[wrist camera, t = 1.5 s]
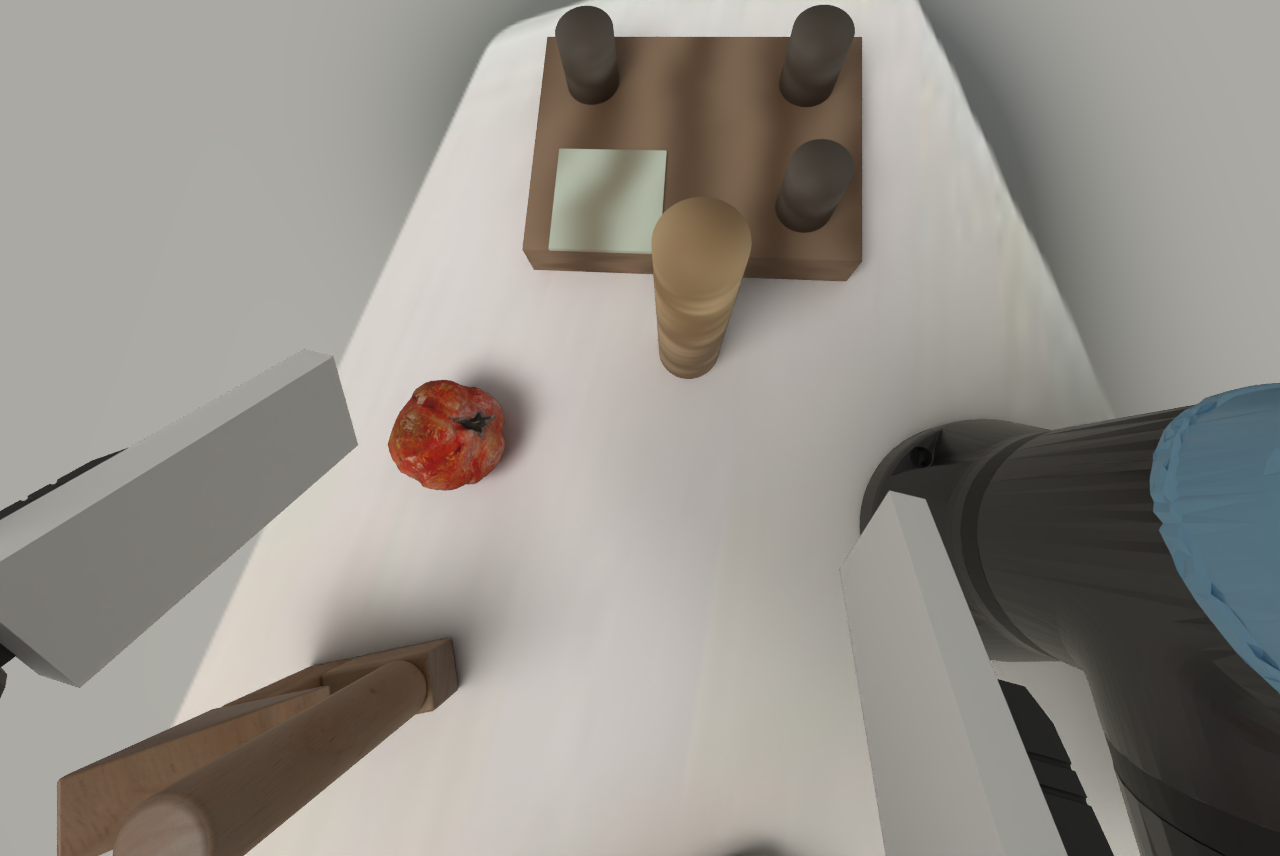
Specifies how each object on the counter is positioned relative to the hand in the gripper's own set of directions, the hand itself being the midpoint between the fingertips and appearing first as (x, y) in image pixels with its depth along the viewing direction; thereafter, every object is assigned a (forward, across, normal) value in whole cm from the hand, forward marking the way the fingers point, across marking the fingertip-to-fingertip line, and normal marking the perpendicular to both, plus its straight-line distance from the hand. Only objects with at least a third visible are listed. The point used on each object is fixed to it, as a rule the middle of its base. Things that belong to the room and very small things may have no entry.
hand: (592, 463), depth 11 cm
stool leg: (+24, +1, -8) cm, 26 cm away
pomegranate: (+17, -13, -16) cm, 27 cm away
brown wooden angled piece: (+5, -14, -29) cm, 33 cm away
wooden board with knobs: (+34, -2, +2) cm, 35 cm away
